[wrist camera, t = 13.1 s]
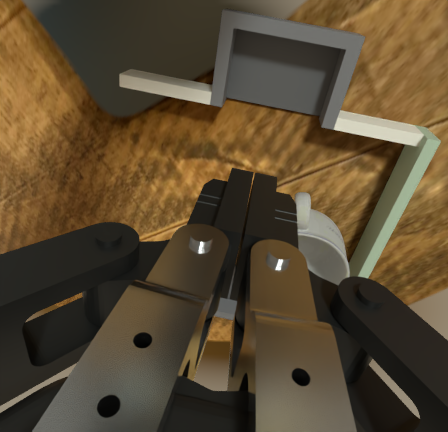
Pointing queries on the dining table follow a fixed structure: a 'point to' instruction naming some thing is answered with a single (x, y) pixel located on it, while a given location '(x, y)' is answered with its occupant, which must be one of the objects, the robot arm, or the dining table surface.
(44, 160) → the dining table surface
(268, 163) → the dining table surface
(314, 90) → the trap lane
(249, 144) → the dining table surface
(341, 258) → the teacup
